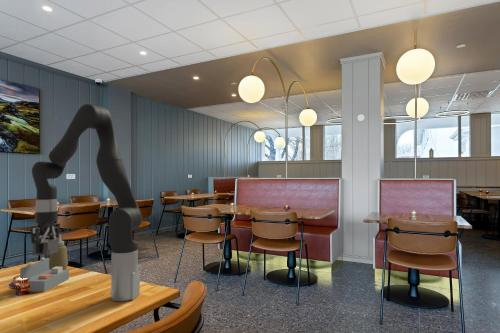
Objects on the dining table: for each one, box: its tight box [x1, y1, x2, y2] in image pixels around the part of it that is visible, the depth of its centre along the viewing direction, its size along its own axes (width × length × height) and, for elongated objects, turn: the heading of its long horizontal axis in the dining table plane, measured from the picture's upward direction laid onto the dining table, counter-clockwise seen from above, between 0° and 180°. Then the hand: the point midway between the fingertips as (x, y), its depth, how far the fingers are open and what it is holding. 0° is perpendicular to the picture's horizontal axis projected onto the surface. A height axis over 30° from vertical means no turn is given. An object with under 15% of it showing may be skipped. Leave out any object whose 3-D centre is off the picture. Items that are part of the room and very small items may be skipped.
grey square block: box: [31, 238, 59, 256], centre depth 128 cm, size 7×7×5 cm
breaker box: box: [19, 257, 70, 293], centre depth 130 cm, size 10×15×10 cm
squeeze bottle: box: [48, 233, 69, 270], centre depth 147 cm, size 8×8×18 cm
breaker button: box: [39, 274, 52, 279], centre depth 127 cm, size 3×3×4 cm
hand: (45, 251), depth 127 cm, fingers closed on grey square block, 6 cm apart
